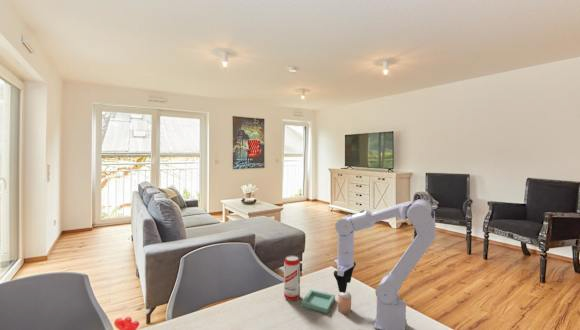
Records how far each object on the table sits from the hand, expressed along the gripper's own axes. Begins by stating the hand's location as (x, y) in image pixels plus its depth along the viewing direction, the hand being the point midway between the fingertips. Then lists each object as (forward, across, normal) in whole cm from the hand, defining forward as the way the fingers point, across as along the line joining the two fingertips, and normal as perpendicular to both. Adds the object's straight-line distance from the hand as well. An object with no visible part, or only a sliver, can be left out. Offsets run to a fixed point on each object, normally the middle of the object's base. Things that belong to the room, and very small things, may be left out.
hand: (344, 286), depth 100 cm
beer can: (+9, 0, -21) cm, 23 cm away
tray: (+9, 0, -10) cm, 13 cm away
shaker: (+9, 0, 0) cm, 9 cm away
